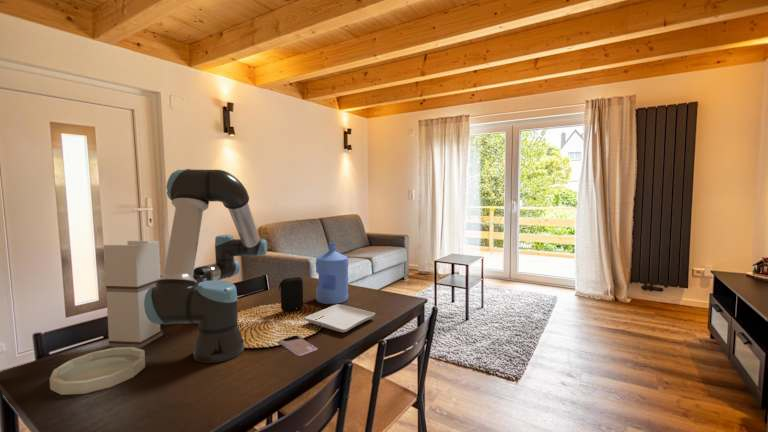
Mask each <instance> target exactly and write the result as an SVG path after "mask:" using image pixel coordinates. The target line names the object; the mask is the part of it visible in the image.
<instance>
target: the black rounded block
mask: <svg viewBox="0 0 768 432" xmlns="http://www.w3.org/2000/svg"><path fill="white" fill-rule="evenodd" d="M278 291H280V308H281V310H282V311H283V312H292V311H293V312H294V311H298V310H302V308H303V307H304V282H303V278H302V277H299V276H298V277H287V278H283V279H282V280H281V281H280V283H279V284H278ZM301 307H302V308H301ZM296 308H297V309H296Z"/></svg>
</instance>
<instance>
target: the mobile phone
mask: <svg viewBox="0 0 768 432" xmlns="http://www.w3.org/2000/svg"><path fill="white" fill-rule="evenodd" d="M278 344H280V345H281V346H282V347H284V348H286V349H287V350H288V351H290V352H291V353H293V354H294V355H295V356H297V357H301V356H305V355H307V354H310V353H314V352H316V351H317V350H318V347H316V346H315V345H313V343H310V342H308V341H307V340H305V339H303V337H301V336H299V335H292V336H289V337H285V338H283V339H279V340H278Z"/></svg>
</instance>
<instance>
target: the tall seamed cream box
mask: <svg viewBox="0 0 768 432" xmlns="http://www.w3.org/2000/svg"><path fill="white" fill-rule="evenodd" d="M103 257H104V259H103V260H104V273H105V277H104V278H105V292H106V309H107V329H108V330H107V331H108V345H109V348H118V347H135V348H138V349H142V348H144V347H145V346H147V345H148V344H150V343H151V342H153V341H156V340H157V339H159V338H161V337H162V336H163V335H164V333H163V332H164V329H161V324H155V323H152V322H151V321H150V320H149V319H148V318H147V315H146V314H145V310H144V299H145V295H146V293H147V292H148V290H149V289H150V288H152V287H156V283H157V280H158V279H159V278H160V276H161V265H160V264H161V261H160V260H161V258H160V241H159V240H127V244H104V245H103Z"/></svg>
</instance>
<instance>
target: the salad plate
mask: <svg viewBox="0 0 768 432" xmlns="http://www.w3.org/2000/svg"><path fill="white" fill-rule="evenodd" d="M375 315H376V312H372V311H369V310H365V309H361V308H357V307H352V306H349V305H345V304H341V303H339V304H333V305H331V306H329V307H327V308H324V309H322V310H318V311H316V312H314V313H311V314H309V315H306V316H304V320H305V321H306V322H308V323H311V324H313V323H314V324H313V325H315V326H316V325H317V324H318V325H317V326H318V327H321V328H324V329H328V330H332V331H334V332H335V331H336V332H339V333H346V332H348V331H350V330H351V329H354V328H355V327H357V326H359V325H361V324H363V323H365V322H366V321H369V320H371V319H372V318H373V317H375ZM322 316H324V317H322ZM320 317H322V318H320ZM318 318H320V319H318ZM315 319H318V320H316V321H315ZM320 325H322V326H320Z"/></svg>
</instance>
